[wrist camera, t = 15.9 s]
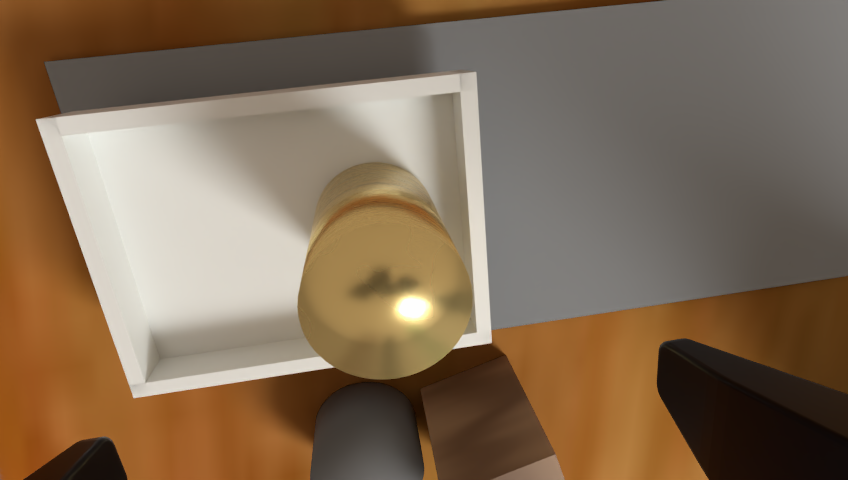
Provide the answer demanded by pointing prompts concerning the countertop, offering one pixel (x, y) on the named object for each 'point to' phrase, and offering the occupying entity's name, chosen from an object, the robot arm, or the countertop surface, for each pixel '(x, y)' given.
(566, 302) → the lane mat
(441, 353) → the small wooden cylinder
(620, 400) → the countertop surface
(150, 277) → the white shallow tray
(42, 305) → the countertop surface
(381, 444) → the grey small block
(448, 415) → the walnut block
